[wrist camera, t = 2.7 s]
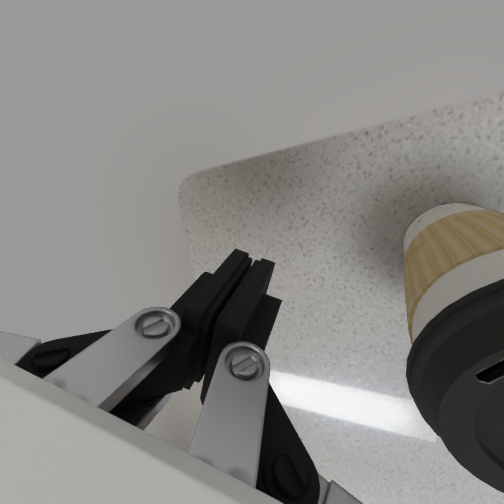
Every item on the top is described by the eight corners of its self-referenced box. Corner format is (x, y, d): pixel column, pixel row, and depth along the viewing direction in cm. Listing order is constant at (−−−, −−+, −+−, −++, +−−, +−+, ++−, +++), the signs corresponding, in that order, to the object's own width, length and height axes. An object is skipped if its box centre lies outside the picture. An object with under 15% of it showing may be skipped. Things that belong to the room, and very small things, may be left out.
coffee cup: (447, 315, 23) (567, 556, 10) (352, 251, 23) (355, 410, 11) (572, 229, 18) (1107, 496, 5) (449, 148, 18) (677, 216, 6)
